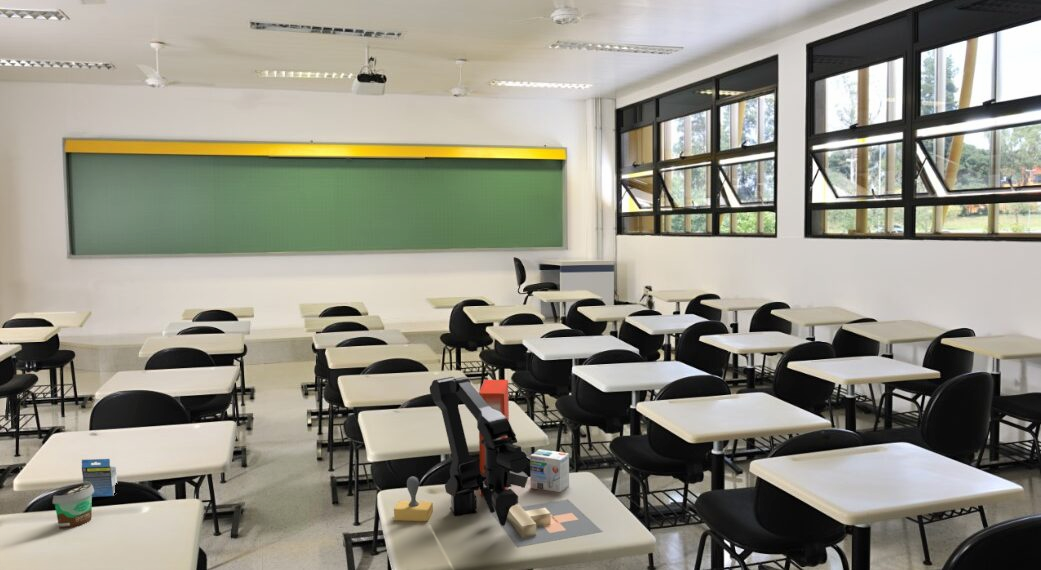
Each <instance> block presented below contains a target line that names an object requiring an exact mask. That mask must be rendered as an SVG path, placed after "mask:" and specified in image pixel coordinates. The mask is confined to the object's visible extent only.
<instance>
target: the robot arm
mask: <svg viewBox="0 0 1041 570" xmlns="http://www.w3.org/2000/svg"><path fill="white" fill-rule="evenodd" d="M429 393H430V395H431V398H432V401H433V402H434V404H435V405H436V407H438V408H439V410H440V411H441V415H442V420H443V423H444V427H445V433H446V435H447V440H448V444H449V445H448V446H449V449H450V453H451V459H452V460H451V461H452V462H451V464H450V468H449V475H450V478H449V479H448V480H447V482H446V483H445V485H444V488H445V492H446V494H448V495H450V500H451V501H450V502H451V503H450V506H451V507H449V509H450V511H451V513H452V514H453V516H454V517H461V516H466V515H472V514H473V515H474V514H477V513H478V512H477V508H478V506H477V504H478V502H477V495H476V494H475V491H478V490H479V491H480V490H481V493H482V495H483V496H482V498H483V499H484V501H485V503H486V505H487V508H488V509H489V511H490V513H491V514H492V513H493V512H496V515H497V518H498V520H499V522H498V524H499V523H500V524H499V525H500V526H501V527H502V526H504V525H505V523H506V520H507V516H508V512H509V510H510V508H511V507H512V506H514V505H518V504H519V496H518V494H517V493H516V492H515V491H514V490H513V489H512V485H513V486H517V487H520V488H522V489H524V488H526V484H527V482H528V479H529V476H528V474H527V473H525V472H524V471H525V469H526V468H527V466H528V462H529V461H528V459H529V458H528V455H527V454H526V453H525V452H524V451H523V450H522V446H521V445H516V443H518V440H517V437H516V433H515V431H514V429H513V427H512V425H511V423H510V420H509V421H508V419H507V418H506V417H505V416H504V415H503V414H502V413H501V412H499V411H497V410H494V409H492V408H491V407H490V406H489V405H488V404H487V403H486V402H485V400H484V399H483V398H482V397H481V396H480V394H479V392H478V391H477V389H476V388H475V386H473V385H472V383H471V380H470V378H469V377H467V376H462V377H454V376H449V377H443V378H439V379H434V380H432V382H431V384H430V386H429ZM460 401H461V402H462V403H463V405H464V406H465V407H466V409H467V410H468V412H470V414H471V415H472V416H473V417H474V418H475V420H476V422H477V423H476V427H477V430H478V433H479V432H480V433H481V435H482V437H483V438H484V439H483V440H482V441H481V442H480V443H481V444H483V445H485V465H483V467H484V470H485V471H486V472H485V473H481V471H480V461H478V459H473V457H472V456H471V455H470V452H469V448H468V443H467V438H466V435H465V430H464V426H463V421H462V417H461V413H460V408H459V403H460ZM505 436H507V437H508V438H504V439H500V440H497V439H498V438H502V437H505ZM505 487H507V489H505Z"/></svg>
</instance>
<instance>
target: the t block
mask: <svg viewBox="0 0 1041 570" xmlns="http://www.w3.org/2000/svg"><path fill="white" fill-rule="evenodd" d="M522 507H523V506H521V504H519V503H518V504H516V505H514V506H512V507H511V508H510V510H509V512H508V516H507V519H508V520H509V521H510V522H511V524H512V525H513V526H514V527H515V529H516V530H517V531H518V532H519V534H520V535H521V536H522V537H526V536H531V535H537V533H536V526H540V525H545V524H551V516H550V512H549V511H548V510H547V509H546V508H540V509H534V510H528V511H524V509H523V508H522Z"/></svg>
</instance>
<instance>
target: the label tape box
mask: <svg viewBox="0 0 1041 570" xmlns="http://www.w3.org/2000/svg"><path fill="white" fill-rule="evenodd" d="M94 463H97V464H94ZM81 472H82V482H83V484H82V485H84V481H87V482H90V483H91V484H92V486H93V488H94V493H93V494H92V498H98V497H114V496H115V495H114V493H115V485H116V483H117V484H118V475H117V468H116V466H111V459H110V458H94V459H93V458H91V459H81Z"/></svg>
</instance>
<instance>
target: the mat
mask: <svg viewBox="0 0 1041 570" xmlns="http://www.w3.org/2000/svg"><path fill="white" fill-rule="evenodd" d="M521 507H522V508H523V509H524V511H528V510H534V509H540V508H546V509H547V510H548V511H549V512H550V516H551V524H545V525H540V526H536V533H537V535H531V536H526V537H522V536H521V535H520V534H519V532H518V531H517V530H516V529H515V527H514V526H513V525H512V524H511V522H510V521H509V520H508V519H507V520H506V523H505V525H504V526H501V528H502V529H503V530H504V532H505V533H506V534H507V535H508V537H509V538H510V539H511V541H512V542H513V543H514V545H515V546H516V547H517V548H520V547H526V546H531V545H537V544H543V543H549V542H554V541H559V540H564V539H570V538H571V539H572V538H576V537H581V536H582V537H583V536H587V535H592V534H599V533H603V530H601V529H600V528H599V527H598V526H597V525H596V524H595V523H594V522H593V521H592V520H591V519H590V518H589V517H588V516H587V515H585V514H584V513H583V512H582V511H581V510H580V509H579V508H578V507H577V506H576V505H575V504H574V503H573V502H572V501H570V500H569V498H568V499H567V498H566V499H560V500H554V501H548V502H543V503H537V504H536V503H535V504H529V505H523V506H521ZM491 515H492V516H493V517H494V519H495V520H496V521H497V522H498V524H499V525H500V523H499V520H498V518H497V515H496V512H493V513H491Z"/></svg>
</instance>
